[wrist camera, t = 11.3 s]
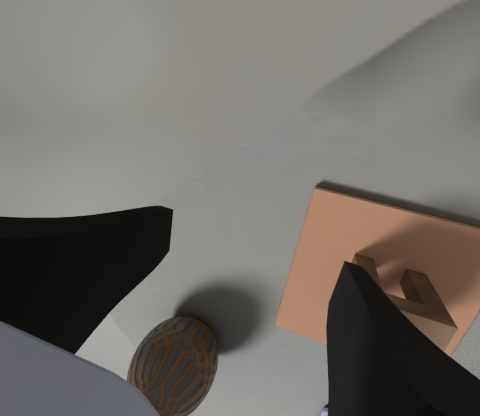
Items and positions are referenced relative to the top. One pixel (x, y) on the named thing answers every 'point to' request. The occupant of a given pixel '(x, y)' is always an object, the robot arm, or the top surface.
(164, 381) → the vase
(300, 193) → the top surface
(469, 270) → the mat
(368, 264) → the notched brown block
